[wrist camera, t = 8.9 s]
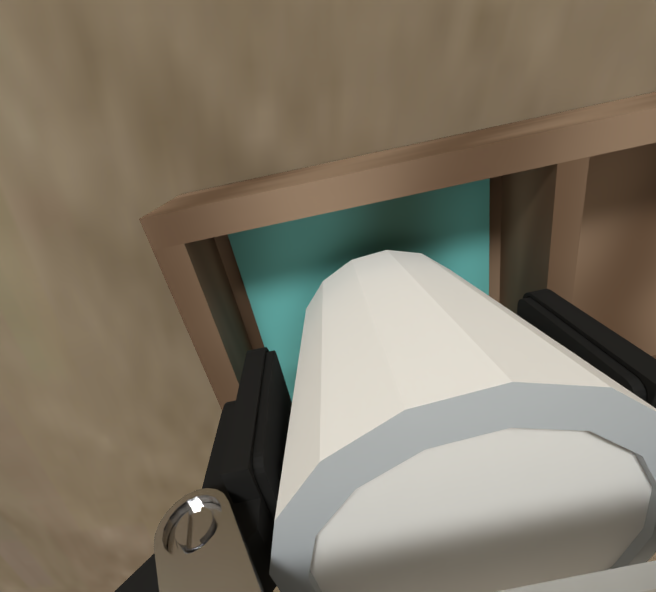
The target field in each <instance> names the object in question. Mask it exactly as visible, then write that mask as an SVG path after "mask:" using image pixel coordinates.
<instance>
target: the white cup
mask: <svg viewBox="0 0 656 592" xmlns="http://www.w3.org/2000/svg"><path fill="white" fill-rule="evenodd" d="M655 552H656V408H654V407H653V406H651V405H650V404H648V403H647V402H645V401H644V400H642V399H641V398H639V397H638V396H636V395H635V394H633V393H632V392H630V391H629V390H628V389H626V388H625V387H623V386H622V385H620V384H619V383H617V382H616V381H614V380H613V379H611V378H610V377H608V376H607V375H605V374H604V373H602V372H601V371H599V370H598V369H596V368H595V367H593V366H592V365H591V364H589V363H588V362H586V361H585V360H583V359H582V358H580V357H579V356H577V355H576V354H574V353H573V352H571V351H570V350H568V349H567V348H565V347H564V346H562V345H561V344H559V343H558V342H556V341H555V340H553V339H552V338H551V337H549V336H548V335H546V334H545V333H543V332H542V331H540V330H539V329H537V328H536V327H534V326H533V325H531V324H530V323H528V322H527V321H525V320H524V319H522V318H521V317H519V316H518V315H516V314H515V313H513V312H512V311H511V310H509V309H508V308H506V307H505V306H503V305H502V304H500V303H499V302H497V301H496V300H494V299H493V298H491V297H490V296H488V295H487V294H485V293H484V292H482V291H481V290H479V289H478V288H476V287H475V286H473V285H472V284H471V283H469V282H468V281H466V280H465V279H463V278H462V277H460V276H459V275H457V274H456V273H454V272H453V271H451V270H450V269H448V268H446V267H445V266H443V265H441V264H439V263H438V262H436V261H434V260H432V259H431V258H429V257H427V256H425V255H423V254H422V253H413V252H403V251H393V250H384V251H381V252H377V253H374V254H370V255H367V256H363V257H360V258H356V259H353V260H351V261H349V262H348V263H346V264H345V265H344V266H342V267H341V268H340V269H338V270H337V271H336V272H334V273H333V274H332V275H330V276H329V277H328V278H326V279H325V280H324V281H323V282H322V283H321V285H320V287H319V288H318V290H317V292H316V293H315V295H314V297H313V298H312V300H311V302H310V303H309V305H308V307H307V308H306V313H305V320H304V326H303V333H302V340H301V346H300V353H299V360H298V366H297V373H296V380H295V387H294V393H293V400H292V407H291V413H290V420H289V427H288V433H287V440H286V447H285V453H284V460H283V467H282V474H281V480H280V487H279V494H278V500H277V507H276V514H275V520H274V530H273V540H272V550H271V560H270V570H269V574H270V576H271V578H272V579H273V581H274V582H275V584H276V585H277V587H278V588H279V590H280V592H497V591H502V590H508V589H513V588H518V587H523V586H528V585H533V584H538V583H543V582H548V581H553V580H558V579H563V578H569V577H574V576H579V575H584V574H589V573H594V572H599V571H604V570H609V569H615V568H620V567H625V566H630V565H635V564H640V563H645V562H647V561H648V560H649V559H650V558H651V557H652V556H653V555H654V553H655Z"/></svg>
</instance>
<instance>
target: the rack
mask: <svg viewBox="0 0 656 592" xmlns="http://www.w3.org/2000/svg"><path fill="white" fill-rule="evenodd" d="M139 220H140V222H141V224H142V227H143V229H144V231H145V234H146V236H147V238H148V241H149V243H150V245H151V248H152V250H153V252H154V254H155V257H156V259H157V261H158V264H159V266H160V268H161V271H162V273H163V275H164V278H165V280H166V282H167V284H168V287H169V289H170V291H171V294H172V296H173V298H174V301H175V303H176V305H177V308H178V310H179V312H180V314H181V317H182V319H183V321H184V324H185V326H186V328H187V331H188V333H189V335H190V338H191V340H192V342H193V344H194V347H195V349H196V351H197V354H198V356H199V358H200V361H201V363H202V365H203V368H204V370H205V372H206V374H207V377H208V379H209V381H210V384H211V386H212V388H213V391H214V393H215V395H216V398H217V400H218V402H219V404H220V407H221V409H222V410H223V407H224V404H225V403H226V402H230V401H235V400H236V397H237V393H238V388H239V384H240V379H241V375H242V370H243V366H244V361H245V357H246V353H247V351H249V350H254V349H258V348H263V347H267V348H268V350H269V351H273V350H275V351H276V354H277V357H278V360H279V363H280V366H281V369H282V373H283V376H284V379H285V382H286V385H287V388H288V392H289V395H290V398H291V401H292V400H293V393H294V387H295V380H296V373H297V366H298V360H299V353H300V346H301V340H302V333H303V326H304V320H305V313H306V308H307V307H308V305H309V303H310V302H311V300H312V298H313V297H314V295H315V293H316V292H317V290H318V288H319V287H320V285H321V283H322V282H323V281H324V280H325V279H326V278H328V277H329V276H330V275H332V274H333V273H334V272H336V271H337V270H338V269H340V268H341V267H342V266H344V265H345V264H346V263H348V262H349V261H351V260H353V259H356V258H360V257H363V256H367V255H370V254H374V253H377V252H381V251H384V250H393V251H403V252H413V253H422V254H423V255H425V256H427V257H429V258H431V259H432V260H434V261H436V262H438V263H439V264H441V265H443V266H445V267H446V268H448V269H450V270H451V271H453V272H454V273H456V274H457V275H459V276H460V277H462V278H463V279H465V280H466V281H468V282H469V283H471V284H472V285H473V286H475V287H476V288H478V289H479V290H481V291H482V292H484V293H485V294H487V295H488V296H490V297H491V298H493V299H494V300H496V301H497V302H499V303H500V304H502V305H503V306H505V307H506V308H508V309H509V310H511V311H512V312H513V313H515V314H516V315H517V304H518V301H519V300H520V299H522V298H523V295H524V294H525V293H527V292H532V291H537V290H541V289H550V290H552V291H553V292H555V293H556V294H558V295H559V296H561V297H562V298H564V299H565V300H567V301H568V302H570V303H571V304H573V305H574V306H576V307H577V308H579V309H580V310H582V311H583V312H585V313H587V314H588V315H590V316H591V317H593V318H594V319H596V320H597V321H599V322H600V323H602V324H603V325H605V326H606V327H608V328H609V329H611V330H612V331H614V332H615V333H617V334H618V335H620V336H622V337H623V338H625V339H626V340H628V341H629V342H631V343H632V344H634V345H635V346H637V347H638V348H640V349H641V350H643V351H644V352H646V353H647V354H649V355H650V356H652V357H653V358H655V359H656V92H653V93H648V94H643V95H639V96H634V97H629V98H625V99H620V100H616V101H611V102H606V103H602V104H597V105H592V106H588V107H583V108H579V109H574V110H569V111H565V112H560V113H555V114H551V115H546V116H541V117H537V118H532V119H528V120H523V121H518V122H514V123H509V124H504V125H500V126H495V127H491V128H486V129H481V130H477V131H472V132H467V133H463V134H458V135H454V136H449V137H444V138H440V139H435V140H430V141H426V142H421V143H416V144H412V145H407V146H403V147H398V148H393V149H389V150H384V151H379V152H375V153H370V154H366V155H361V156H356V157H352V158H347V159H342V160H338V161H333V162H329V163H324V164H319V165H315V166H310V167H305V168H301V169H296V170H292V171H287V172H282V173H278V174H273V175H268V176H264V177H259V178H254V179H250V180H245V181H241V182H236V183H231V184H227V185H222V186H217V187H213V188H208V189H204V190H199V191H194V192H190V193H185V194H181V195H179V196H177V197H176V198H174V199H172V200H170V201H169V202H167V203H165V204H164V205H162V206H160V207H159V208H157V209H155V210H154V211H152V212H150V213H149V214H147V215H145V216H143V217H142V218H140V219H139Z"/></svg>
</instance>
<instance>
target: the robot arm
mask: <svg viewBox="0 0 656 592" xmlns="http://www.w3.org/2000/svg"><path fill="white" fill-rule="evenodd" d="M517 315H518V316H519V317H521V318H522V319H524V320H525V321H527V322H528V323H530V324H531V325H533V326H534V327H536V328H537V329H539V330H540V331H542V332H543V333H545V334H546V335H548V336H549V337H551V338H552V339H553V340H555V341H556V342H558V343H559V344H561V345H562V346H564V347H565V348H567V349H568V350H570V351H571V352H573V353H574V354H576V355H577V356H579V357H580V358H582V359H583V360H585V361H586V362H588V363H589V364H591V365H592V366H593V367H595V368H596V369H598V370H599V371H601V372H602V373H604V374H605V375H607V376H608V377H610V378H611V379H613V380H614V381H616V382H617V383H619V384H620V385H622V386H623V387H625V388H626V389H628V390H629V391H630V392H632V393H633V394H635V395H636V396H638V397H639V398H641V399H642V400H644V401H645V402H647V403H648V404H650V405H651V406H653V407H654V408H656V359H655V358H653V357H652V356H650V355H649V354H647V353H646V352H644V351H643V350H641V349H640V348H638V347H637V346H635V345H634V344H632V343H631V342H629V341H628V340H626V339H625V338H623V337H622V336H620V335H618V334H617V333H615V332H614V331H612V330H611V329H609V328H608V327H606V326H605V325H603V324H602V323H600V322H599V321H597V320H596V319H594V318H593V317H591V316H590V315H588V314H587V313H585V312H583V311H582V310H580V309H579V308H577V307H576V306H574V305H573V304H571V303H570V302H568V301H567V300H565V299H564V298H562V297H561V296H559V295H558V294H556V293H555V292H553V291H552V290H550V289H541V290H537V291H532V292H527V293H525V294H524V295H523V298H522V299H520V300H519V301H518V304H517ZM291 407H292V401H291V398H290V395H289V392H288V388H287V385H286V382H285V379H284V376H283V373H282V369H281V366H280V363H279V360H278V357H277V354H276V351H275V350H273V351H269V350H268V348H267V347H263V348H258V349H254V350H249V351H247V353H246V357H245V361H244V366H243V370H242V375H241V379H240V384H239V388H238V393H237V397H236V400H235V401H230V402H226V403H225V404H224V407H223V410H222V414H221V418H220V421H219V425H218V429H217V433H216V437H215V441H214V444H213V448H212V452H211V456H210V460H209V464H208V467H207V471H206V475H205V479H204V483H203V487H202V489H199V490H196V491H193V492H191V493H189V494H187V495H185V496H184V497H182V498H181V499H180V500H178V501H177V502H176V503H175V504H174V505H173V506H172V507H171V508H170V509H169V510H168V511H167V512H166V514H165V515H164V517H163V518H162V520H161V521H160V523H159V525H158V528H157V531H156V533H155V537H154V554H153V555H152V556H151V557H150V558H149V559H148V560H147V561H146V562H145V563H144V564H143V565H142V566H141V567H140V568H139V569H138V570H137V571H135V572H134V573H133V574H132V575H131V576H130V577H129V578H128V579H127V580H126V581H125V582H124V583H123V584H122V585H121V586H120V587H119V588H118V589H117V590H116V591H115V592H273V590H274V589H275V587H276V586H277V585H276V584H275V582H274V581H273V579H272V578H271V576H270V574H269V570H270V560H271V550H272V540H273V530H274V520H275V514H276V507H277V500H278V494H279V487H280V480H281V474H282V467H283V460H284V453H285V447H286V440H287V433H288V427H289V420H290V413H291ZM497 592H656V561H651V562H645V563H640V564H635V565H630V566H625V567H620V568H615V569H609V570H604V571H599V572H594V573H589V574H584V575H579V576H574V577H569V578H563V579H558V580H553V581H548V582H543V583H538V584H533V585H528V586H523V587H518V588H513V589H508V590H502V591H497Z"/></svg>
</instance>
